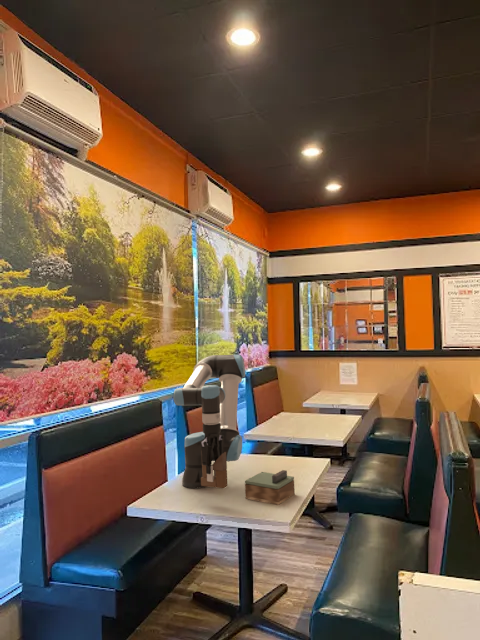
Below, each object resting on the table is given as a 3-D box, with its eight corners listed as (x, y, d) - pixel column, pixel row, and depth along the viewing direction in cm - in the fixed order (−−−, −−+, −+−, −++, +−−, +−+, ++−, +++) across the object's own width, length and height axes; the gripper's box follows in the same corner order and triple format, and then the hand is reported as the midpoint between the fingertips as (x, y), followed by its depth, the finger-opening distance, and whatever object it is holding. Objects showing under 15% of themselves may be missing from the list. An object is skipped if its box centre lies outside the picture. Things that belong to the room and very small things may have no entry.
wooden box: (245, 498, 209) (244, 484, 209) (262, 488, 220) (262, 475, 220) (278, 504, 200) (277, 489, 200) (294, 494, 211) (294, 480, 211)
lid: (244, 483, 209) (244, 473, 209) (262, 474, 220) (261, 465, 220) (277, 489, 200) (277, 478, 200) (294, 479, 211) (293, 469, 211)
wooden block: (223, 488, 200) (221, 444, 200) (200, 486, 205) (198, 442, 205) (228, 486, 203) (226, 442, 203) (205, 483, 208) (203, 440, 208)
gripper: (206, 427, 195) (208, 487, 195) (230, 420, 209) (233, 475, 209) (191, 426, 199) (193, 484, 199) (216, 418, 214) (218, 473, 213)
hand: (213, 479), depth 204 cm, fingers closed on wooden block, 4 cm apart
